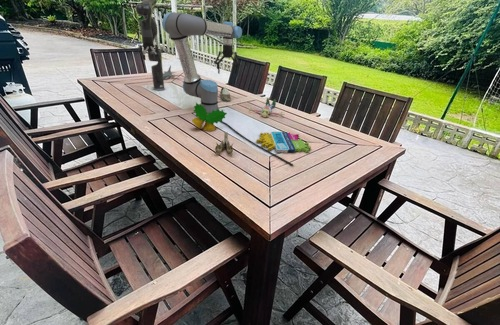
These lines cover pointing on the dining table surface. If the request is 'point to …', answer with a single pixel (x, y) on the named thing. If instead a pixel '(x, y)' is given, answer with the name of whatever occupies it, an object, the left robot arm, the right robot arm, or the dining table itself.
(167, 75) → the airplane
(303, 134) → the dining table surface
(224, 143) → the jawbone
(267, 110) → the toy
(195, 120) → the ornament
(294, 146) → the sign
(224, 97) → the snakeskin print shoe
